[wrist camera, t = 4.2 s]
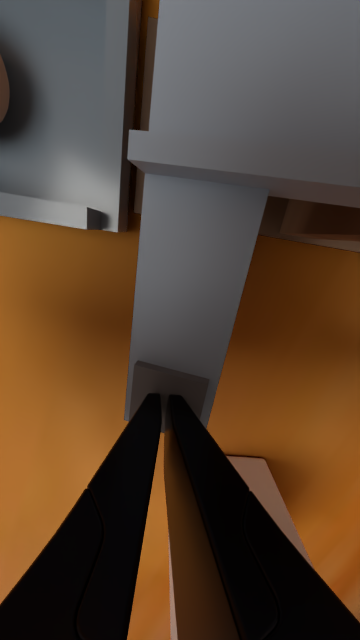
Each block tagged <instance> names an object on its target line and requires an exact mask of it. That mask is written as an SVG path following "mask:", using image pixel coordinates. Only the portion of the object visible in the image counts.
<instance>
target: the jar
mask: <svg viewBox="0 0 360 640" xmlns="http://www.w3.org/2000/svg"><path fill="white" fill-rule="evenodd" d="M226 457H227V458H228V459H229V461H230V462H231V463H232V465H233V466H234V467H235V469H236V470H237V472H238V473H239V474H240V476H241V477H242V478H243V480H244V481H245V482H246V484H247V485H248V487H249V491H252V492H253V493H254V495H255V496H256V497H257V499H258V500H259V501H260V503H261V504H262V505H263V507H264V508H265V509H266V511H267V512H268V513H269V515H270V516H271V517H272V519H273V520H274V521H275V522H276V524H277V525H278V526H279V528H280V529H281V530H282V531H283V533H284V534H285V535H286V536H287V538H288V539H289V540H290V541H291V542H292V544H293V545H294V546H295V547H296V548H297V550H298V551H299V552H300V553H301V554H302V556H303V557H304V558H305V559H306V560H307V562H308V563H309V564H310V565H311V566H312V568H313V569H314V567H313V565H312V563H311V561H310V559H309V556H308V554H307V552H306V550H305V547H304V545H303V543H302V541H301V539H300V536H299V534H298V532H297V530H296V528H295V525H294V523H293V521H292V519H291V516H290V514H289V512H288V510H287V508H286V505H285V503H284V501H283V499H282V496H281V494H280V492H279V490H278V488H277V485H276V483H275V481H274V479H273V477H272V474H271V472H270V470H269V468H268V465H267V463H266V461H265V460H264V459H262V458H250V457H235V456H226ZM168 537H169V529H168ZM169 582H170V627H171V640H178V639H177V627H176V615H175V602H174V590H173V578H172V566H171V554H170V542H169Z"/></svg>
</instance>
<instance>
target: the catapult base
mask: <svg viewBox="0 0 360 640" xmlns="http://www.w3.org/2000/svg"><path fill="white" fill-rule="evenodd" d="M157 26H158V19H155V18H152V17H148V26H147V39H146V53H145V66H144V80H143V94H142V107H141V121H140V131H149V120H150V109H151V97H152V85H153V73H154V62H155V50H156V38H157ZM144 179H145V173H144V172H143V171H141V170H140V169H139V168H138V167H137V176H136V189H135V203H134V213H137V214H142V203H143V191H144ZM258 235H262V236H268V237H274V238H280V239H285V240H291V241H297V242H302V243H308V244H314V245H319V246H325V247H331V248H337V249H342V250H348V251H354V252H359V253H360V208H356V207H349V206H341V205H334V204H326V203H319V202H311V201H304V200H296V199H289V198H281V197H274V196H268V197H267V201H266V205H265V209H264V212H263V216H262V220H261V224H260V227H259V231H258Z"/></svg>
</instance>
